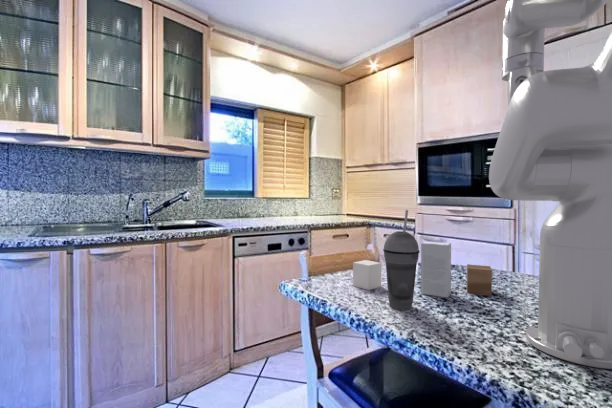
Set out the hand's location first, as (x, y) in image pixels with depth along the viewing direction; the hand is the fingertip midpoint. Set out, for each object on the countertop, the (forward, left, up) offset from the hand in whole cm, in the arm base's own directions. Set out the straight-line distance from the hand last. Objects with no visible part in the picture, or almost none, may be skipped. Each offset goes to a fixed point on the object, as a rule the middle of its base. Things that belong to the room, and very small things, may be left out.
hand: (520, 154), depth 71 cm
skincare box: (-5, +16, -32) cm, 36 cm away
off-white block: (-8, +32, -32) cm, 46 cm away
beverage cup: (-19, +20, -32) cm, 42 cm away
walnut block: (+3, +8, -32) cm, 33 cm away
